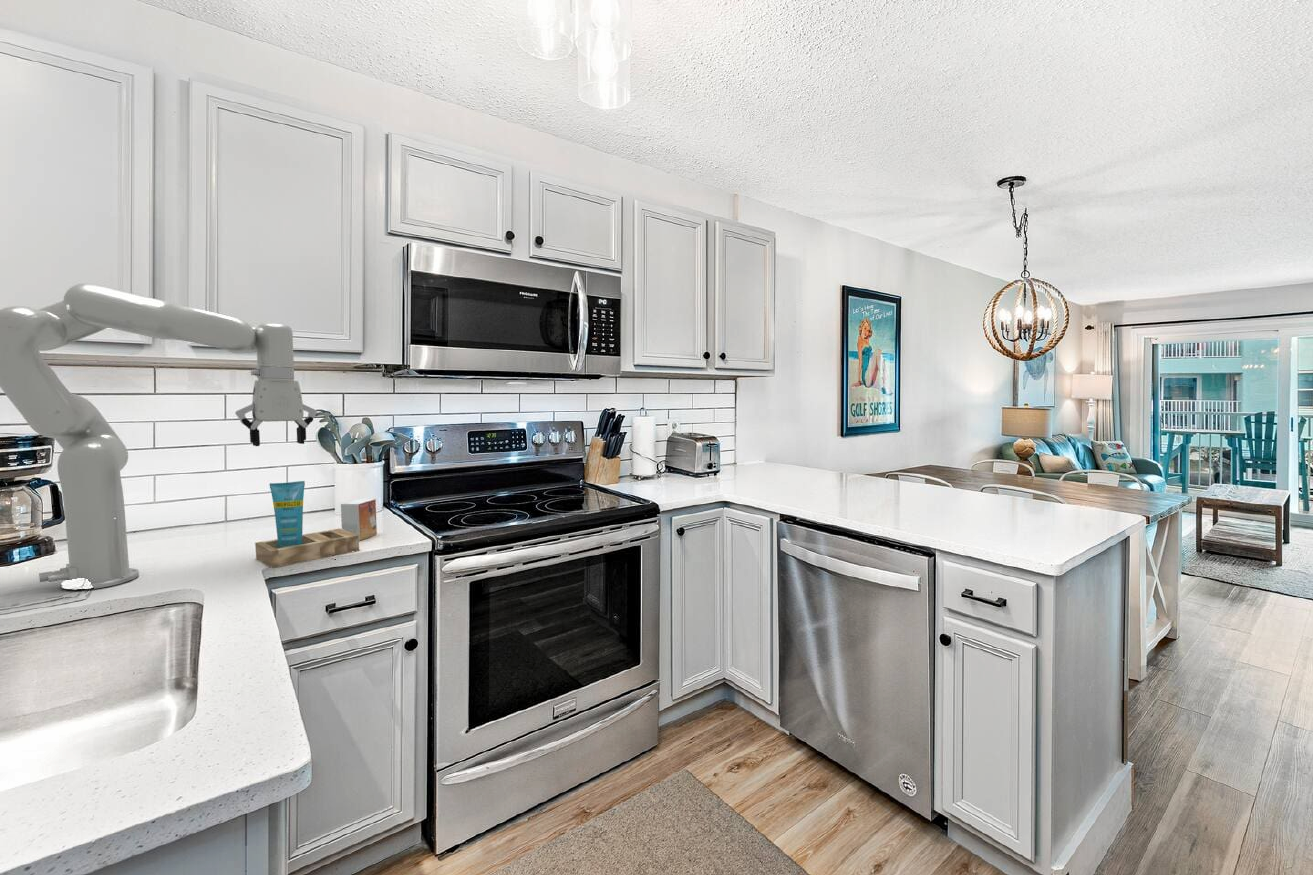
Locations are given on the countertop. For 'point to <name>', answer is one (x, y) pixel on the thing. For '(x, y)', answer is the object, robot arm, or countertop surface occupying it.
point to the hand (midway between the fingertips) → (279, 444)
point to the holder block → (307, 548)
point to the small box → (359, 517)
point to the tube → (288, 512)
